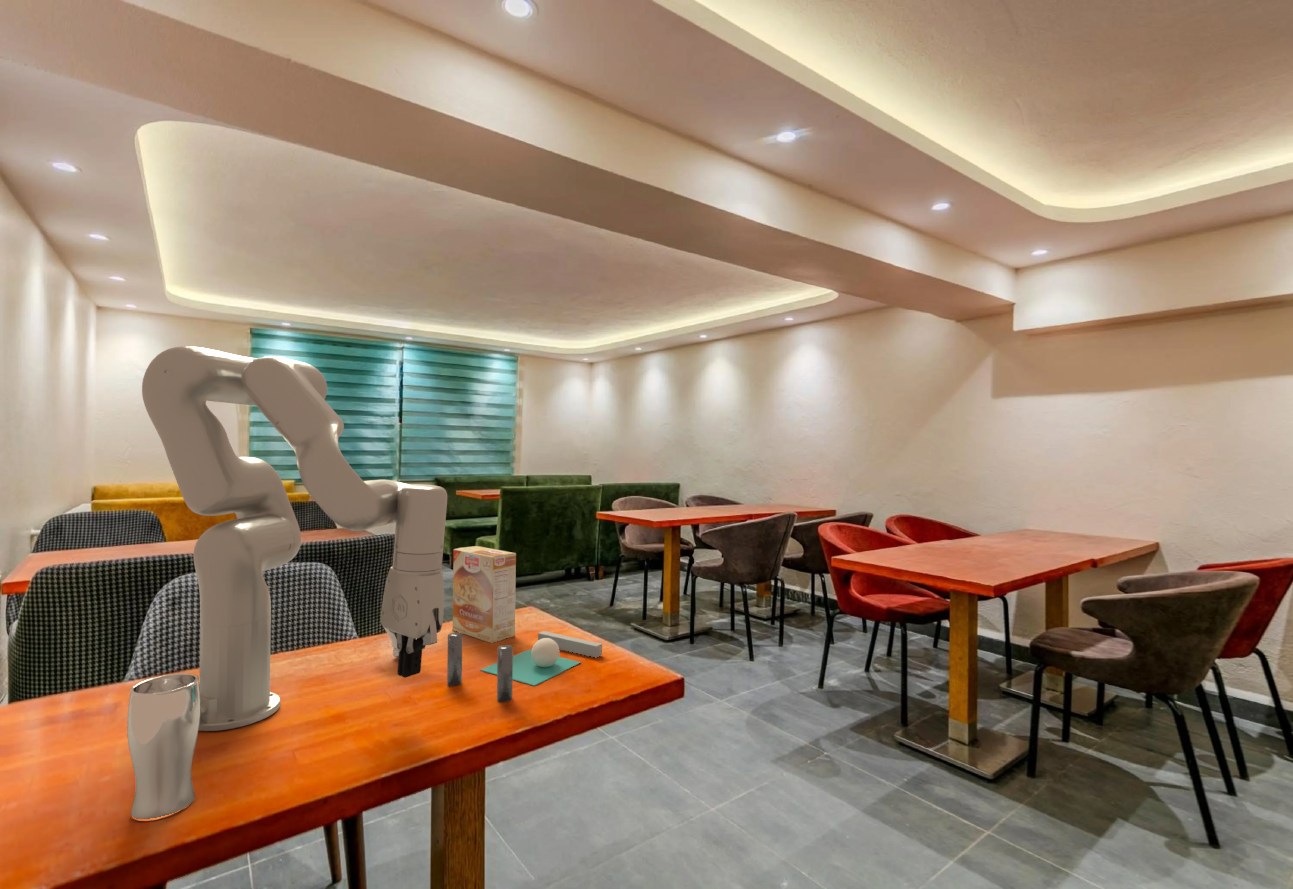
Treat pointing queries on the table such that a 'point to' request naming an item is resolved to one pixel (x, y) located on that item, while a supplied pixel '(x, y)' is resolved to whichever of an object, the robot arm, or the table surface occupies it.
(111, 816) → the table surface
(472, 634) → the coffeecake box
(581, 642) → the stopper wall
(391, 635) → the light bulb
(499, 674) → the right post
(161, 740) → the beer glass
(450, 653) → the left post
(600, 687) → the table surface
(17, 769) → the table surface
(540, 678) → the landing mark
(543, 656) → the ball
